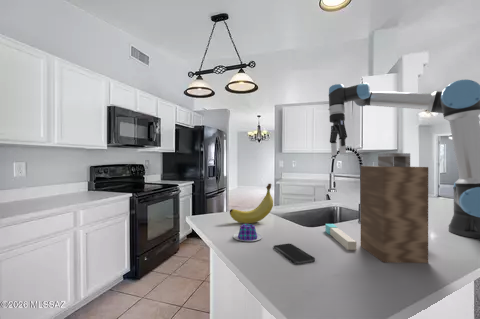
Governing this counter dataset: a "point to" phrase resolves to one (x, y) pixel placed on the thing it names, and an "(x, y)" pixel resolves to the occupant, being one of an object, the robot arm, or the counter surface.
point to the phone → (294, 254)
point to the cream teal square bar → (340, 236)
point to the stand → (395, 210)
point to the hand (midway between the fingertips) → (338, 154)
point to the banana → (257, 212)
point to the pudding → (247, 233)
